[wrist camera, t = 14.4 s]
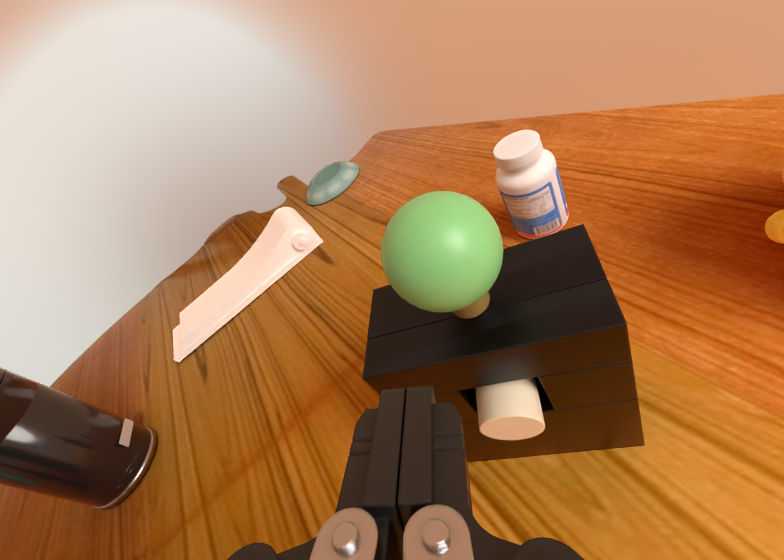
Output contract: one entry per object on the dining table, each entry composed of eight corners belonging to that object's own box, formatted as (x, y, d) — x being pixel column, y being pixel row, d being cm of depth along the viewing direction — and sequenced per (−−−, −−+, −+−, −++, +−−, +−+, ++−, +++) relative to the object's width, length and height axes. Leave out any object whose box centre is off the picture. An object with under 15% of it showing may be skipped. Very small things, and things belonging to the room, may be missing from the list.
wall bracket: (136, 307, 58) (279, 191, 60) (174, 326, 63) (303, 219, 66) (149, 352, 52) (307, 221, 54) (190, 368, 57) (330, 249, 60)
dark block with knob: (644, 445, 23) (609, 198, 10) (460, 463, 28) (277, 307, 15) (612, 359, 27) (557, 105, 14) (456, 387, 32) (309, 213, 19)
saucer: (288, 200, 70) (296, 209, 71) (334, 190, 63) (342, 200, 64) (317, 160, 76) (324, 169, 77) (362, 147, 69) (368, 157, 70)
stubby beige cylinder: (551, 436, 19) (537, 412, 17) (490, 443, 21) (470, 421, 19) (541, 392, 21) (527, 365, 19) (485, 401, 22) (466, 377, 20)
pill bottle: (529, 201, 42) (504, 125, 36) (578, 205, 38) (560, 120, 32) (505, 237, 40) (474, 163, 34) (554, 245, 36) (530, 163, 30)
